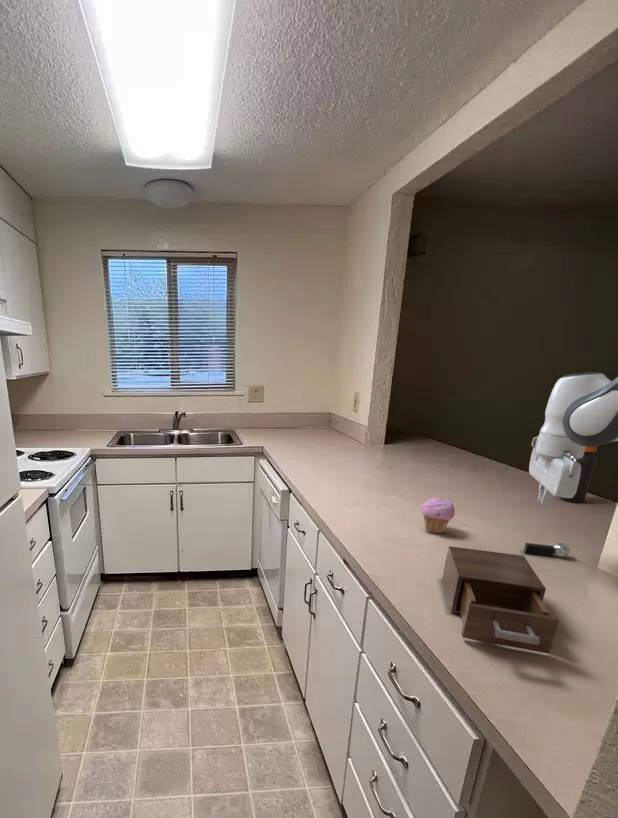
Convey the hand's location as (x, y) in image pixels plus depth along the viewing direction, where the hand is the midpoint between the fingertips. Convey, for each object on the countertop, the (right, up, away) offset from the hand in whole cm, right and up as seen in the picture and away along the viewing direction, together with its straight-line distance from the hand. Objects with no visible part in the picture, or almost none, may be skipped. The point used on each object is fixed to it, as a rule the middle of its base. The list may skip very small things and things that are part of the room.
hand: (543, 503), depth 103 cm
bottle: (+47, +2, +49) cm, 68 cm away
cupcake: (-13, -8, +25) cm, 29 cm away
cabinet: (-21, -21, -10) cm, 31 cm away
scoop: (+8, -13, +10) cm, 18 cm away
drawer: (-25, -24, -22) cm, 41 cm away
